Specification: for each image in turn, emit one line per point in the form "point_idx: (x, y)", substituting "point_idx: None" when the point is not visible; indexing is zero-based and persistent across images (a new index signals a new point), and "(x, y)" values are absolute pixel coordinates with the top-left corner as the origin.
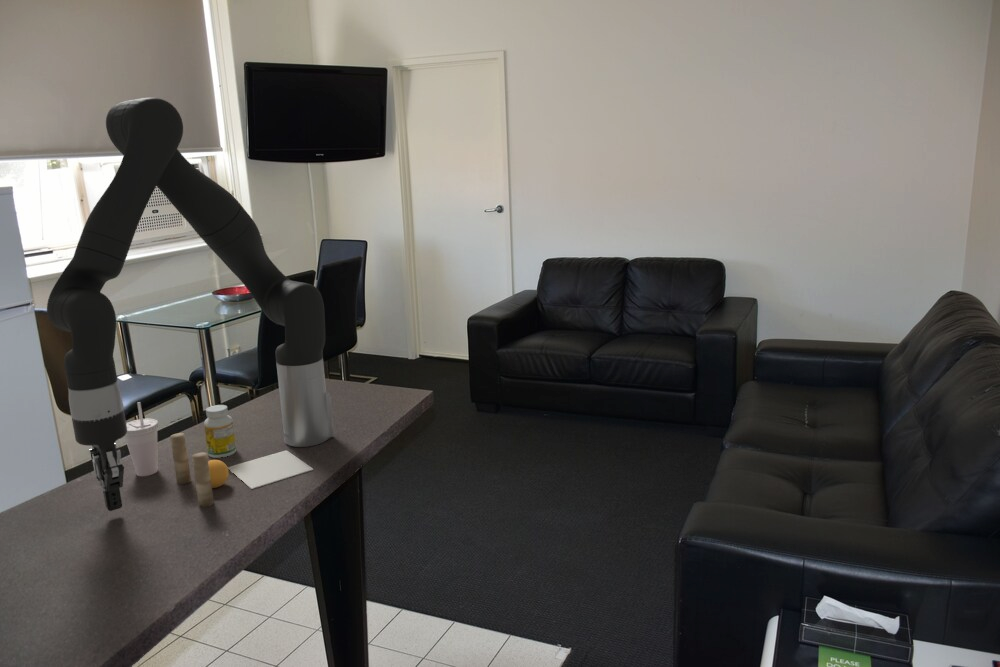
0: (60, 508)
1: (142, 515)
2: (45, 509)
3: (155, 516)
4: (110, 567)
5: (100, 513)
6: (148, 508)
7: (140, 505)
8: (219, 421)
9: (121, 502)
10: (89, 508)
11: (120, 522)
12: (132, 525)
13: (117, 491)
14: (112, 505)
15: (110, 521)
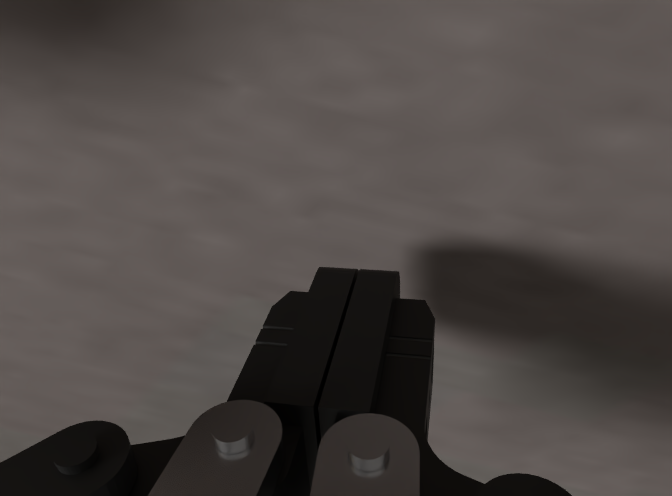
0: (58, 429)
1: (527, 105)
2: None
3: (663, 8)
4: None
5: (254, 318)
6: (414, 18)
7: (296, 63)
8: None
9: (394, 292)
10: (136, 339)
11: (512, 270)
12: (656, 223)
13: (425, 423)
14: (432, 373)
15: (435, 311)
